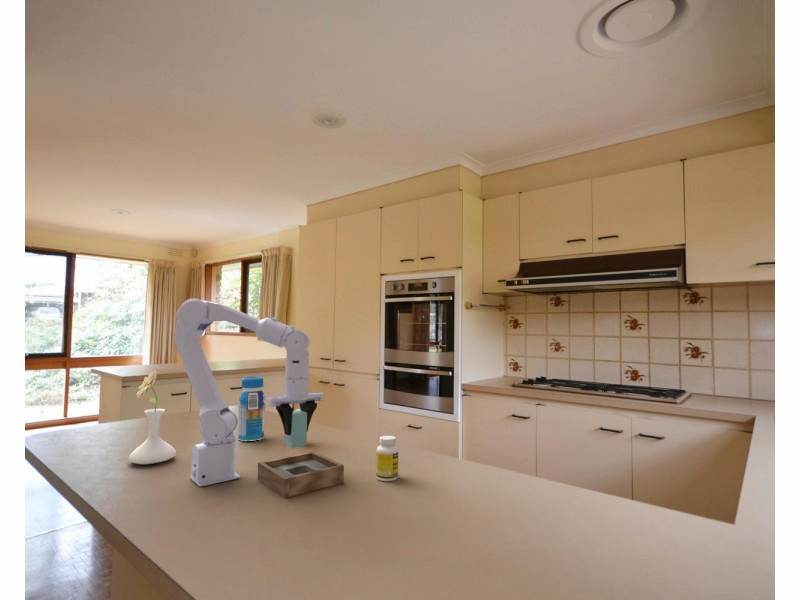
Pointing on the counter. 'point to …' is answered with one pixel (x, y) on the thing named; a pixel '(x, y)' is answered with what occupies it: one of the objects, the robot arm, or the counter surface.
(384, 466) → the supplement bottle
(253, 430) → the beverage bottle
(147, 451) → the flower in vase
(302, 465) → the bore box
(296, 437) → the peg
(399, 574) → the counter surface
